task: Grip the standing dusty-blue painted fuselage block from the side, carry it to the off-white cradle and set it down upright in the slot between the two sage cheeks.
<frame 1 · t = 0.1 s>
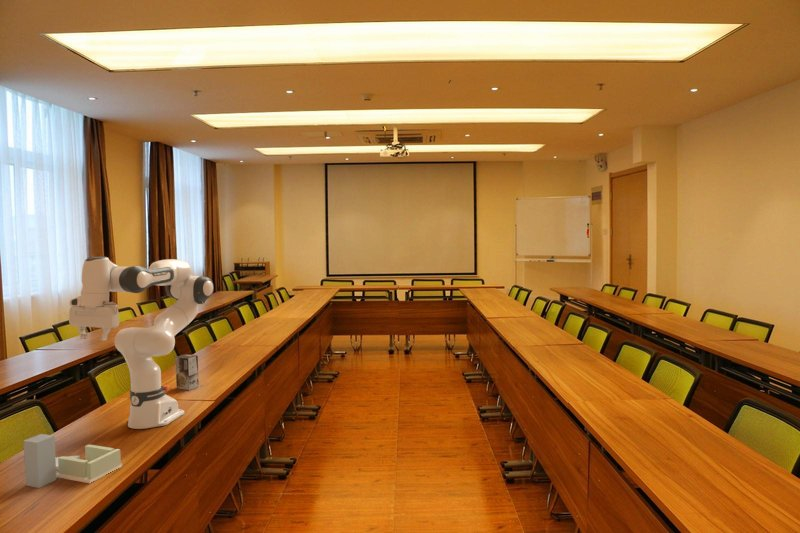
hand: (93, 339, 182), 39 cm above the table, tool pointing down, fingers open, 8 cm apart
coffee box: (187, 388, 255), on the table
hard drive: (54, 466, 169), on the table
cradle: (89, 471, 163), on the table
fuselage block: (41, 482, 156), on the table
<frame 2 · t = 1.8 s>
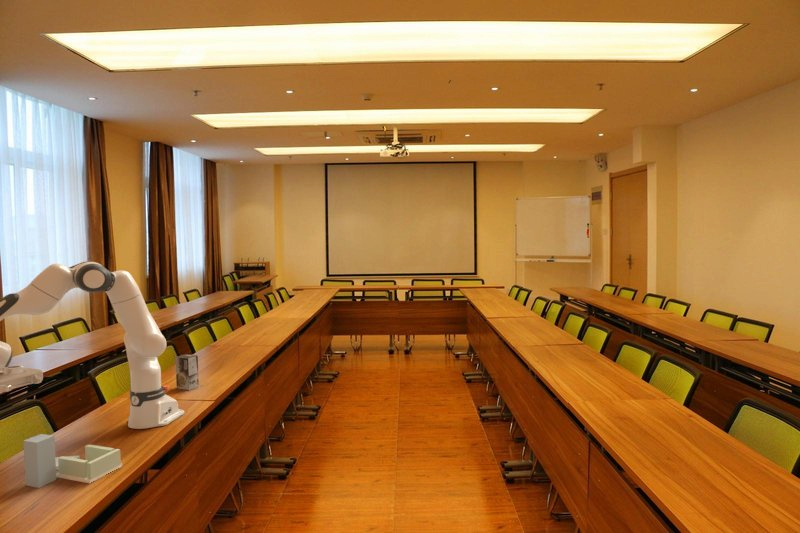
hand: (24, 384, 164), 28 cm above the table, tool horizontal, fingers open, 8 cm apart
nothing on the table moved.
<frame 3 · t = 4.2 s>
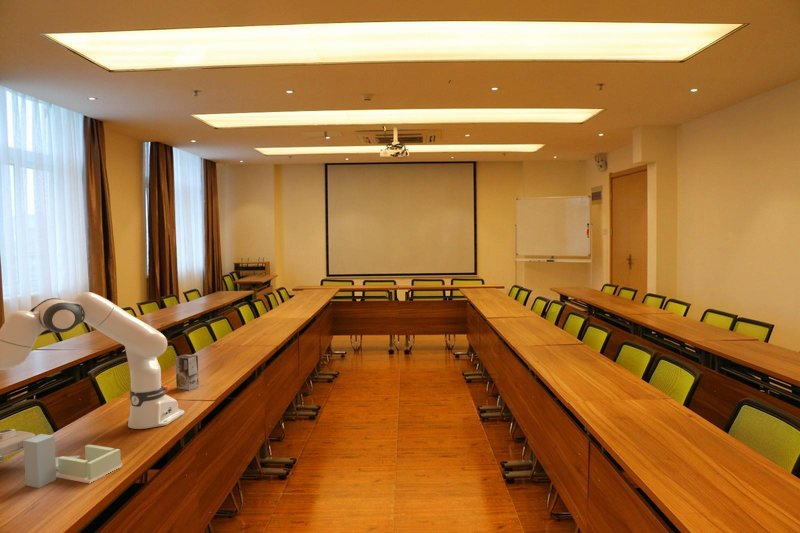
hand: (16, 453, 159), 8 cm above the table, tool horizontal, fingers open, 8 cm apart
nothing on the table moved.
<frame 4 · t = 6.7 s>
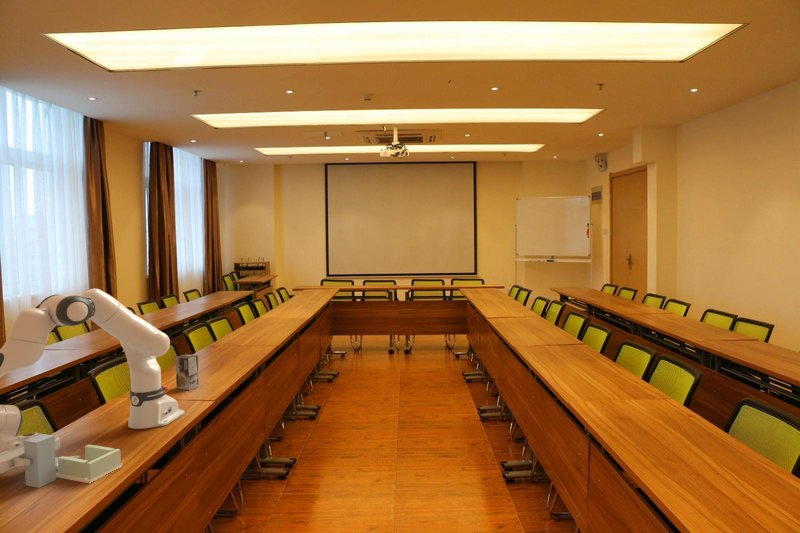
hand: (42, 457, 156), 8 cm above the table, tool horizontal, fingers closed on fuselage block, 5 cm apart
fuselage block: (41, 482, 156), on the table, touching gripper
everything else where it was.
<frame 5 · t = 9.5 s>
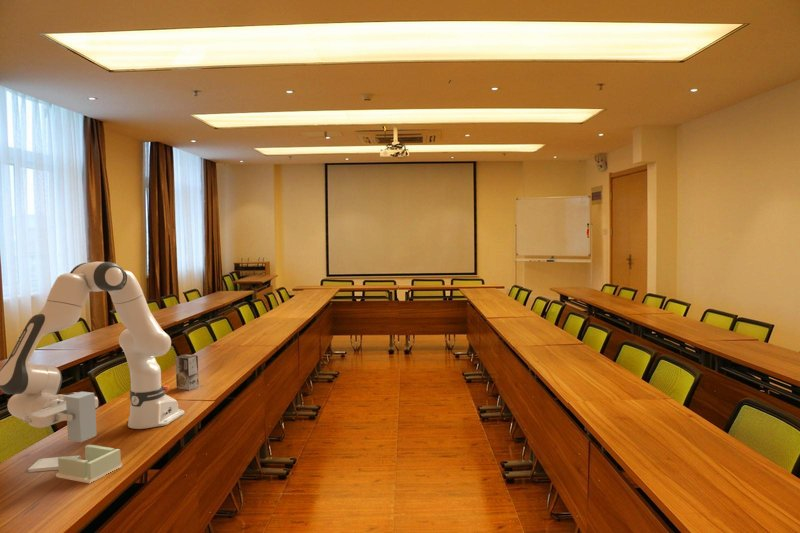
hand: (83, 413, 161), 20 cm above the table, tool horizontal, fingers closed on fuselage block, 5 cm apart
fuselage block: (82, 437, 162), point 12 cm above the table, touching gripper
everything else where it was.
when the fingers open (10 cm above the table, at t = 12.5 s): fuselage block drops 1 cm, resting on cradle.
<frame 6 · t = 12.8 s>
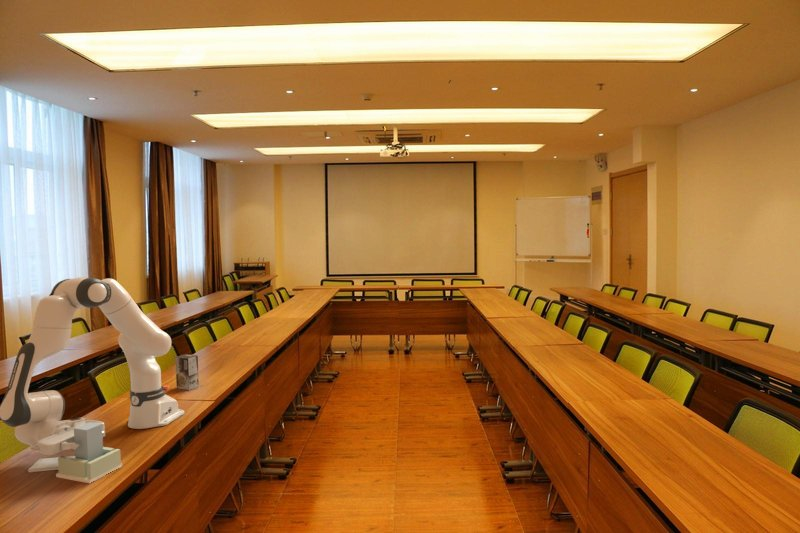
hand: (90, 440, 162), 10 cm above the table, tool horizontal, fingers open, 8 cm apart
fuselage block: (89, 468, 163), point 1 cm above the table, touching cradle
everything else where it was.
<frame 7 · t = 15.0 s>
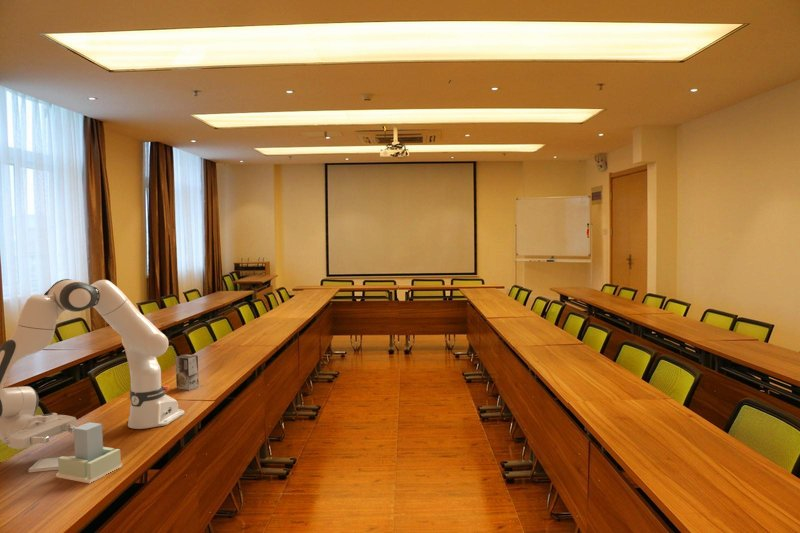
hand: (61, 434, 167), 11 cm above the table, tool horizontal, fingers open, 8 cm apart
nothing on the table moved.
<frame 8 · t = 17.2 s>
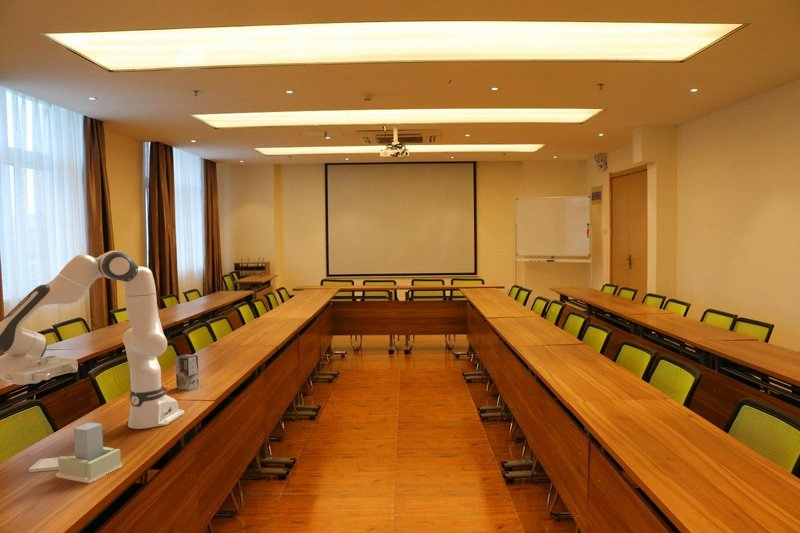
hand: (62, 373, 170), 30 cm above the table, tool horizontal, fingers open, 8 cm apart
nothing on the table moved.
at the end: fuselage block 0.0 cm off-centre on the cradle, point 1.0 cm above the cradle's base; fuselage block tilted 0°; the gripper is holding nothing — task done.
